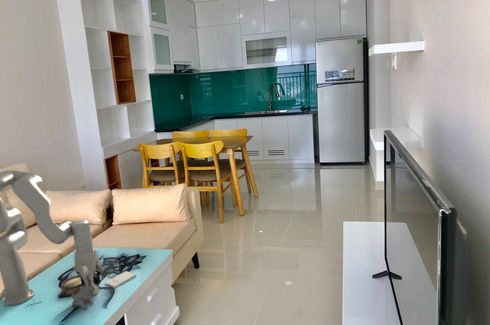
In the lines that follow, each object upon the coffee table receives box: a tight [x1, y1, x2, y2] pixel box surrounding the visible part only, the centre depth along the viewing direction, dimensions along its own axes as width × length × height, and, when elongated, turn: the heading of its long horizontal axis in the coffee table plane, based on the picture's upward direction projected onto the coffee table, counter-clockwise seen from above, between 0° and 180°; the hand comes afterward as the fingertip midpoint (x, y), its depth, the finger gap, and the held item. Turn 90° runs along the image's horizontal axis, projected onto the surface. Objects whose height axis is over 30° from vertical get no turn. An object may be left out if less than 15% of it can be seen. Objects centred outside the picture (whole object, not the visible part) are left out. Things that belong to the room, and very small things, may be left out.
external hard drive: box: [104, 270, 137, 289], centre depth 197 cm, size 2×8×12 cm
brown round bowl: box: [60, 274, 85, 296], centre depth 193 cm, size 13×13×4 cm
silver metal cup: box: [80, 265, 100, 296], centre depth 186 cm, size 7×7×15 cm
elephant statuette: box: [71, 286, 95, 311], centre depth 178 cm, size 9×12×8 cm
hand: (91, 283), depth 187 cm, fingers closed on silver metal cup, 6 cm apart
